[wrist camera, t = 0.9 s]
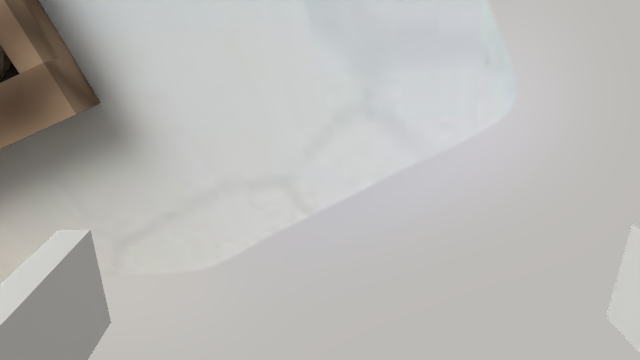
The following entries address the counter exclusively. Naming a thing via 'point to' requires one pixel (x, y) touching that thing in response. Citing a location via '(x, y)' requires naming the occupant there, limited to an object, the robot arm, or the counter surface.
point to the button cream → (4, 62)
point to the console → (37, 74)
